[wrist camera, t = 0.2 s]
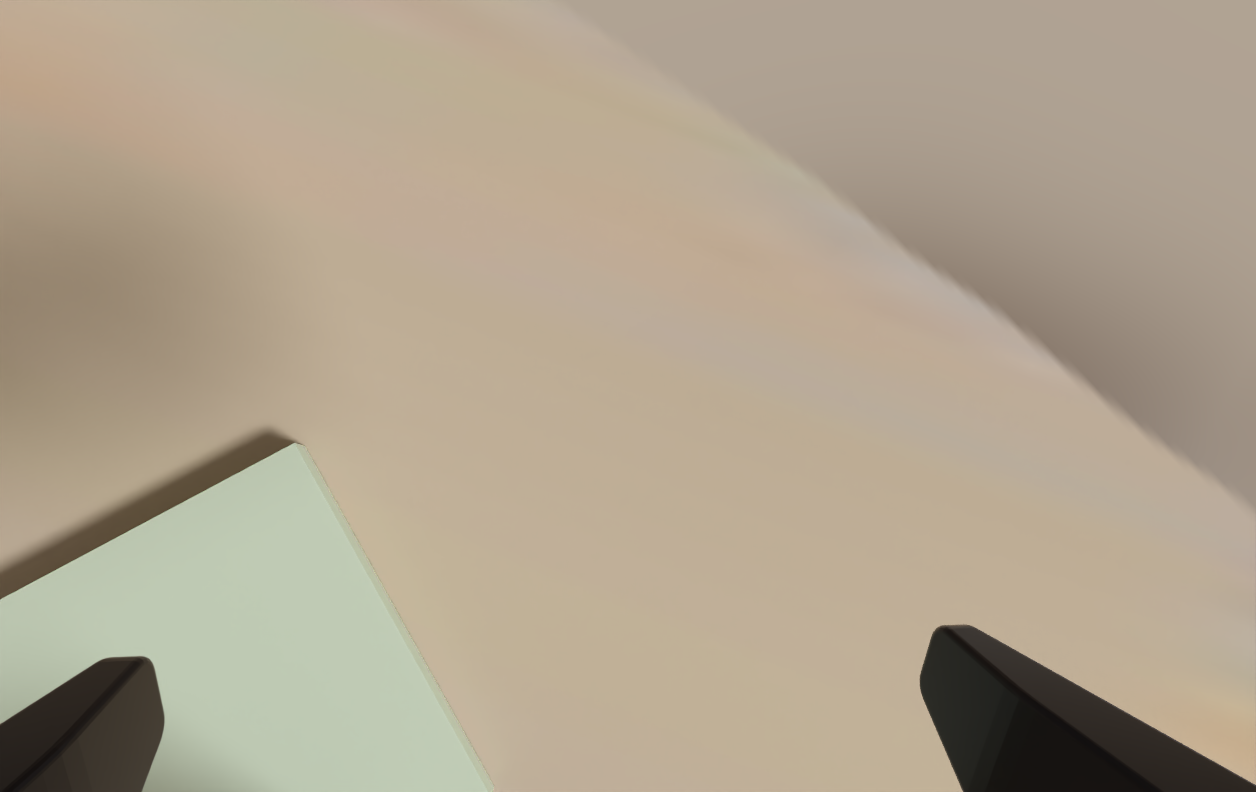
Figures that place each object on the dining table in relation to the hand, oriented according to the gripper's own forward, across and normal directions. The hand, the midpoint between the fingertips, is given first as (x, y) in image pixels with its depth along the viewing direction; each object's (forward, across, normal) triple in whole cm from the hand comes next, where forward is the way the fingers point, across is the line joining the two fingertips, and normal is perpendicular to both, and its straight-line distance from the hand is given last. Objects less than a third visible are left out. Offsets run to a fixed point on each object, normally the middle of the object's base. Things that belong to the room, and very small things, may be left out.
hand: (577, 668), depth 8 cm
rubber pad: (+10, +10, +12) cm, 19 cm away
